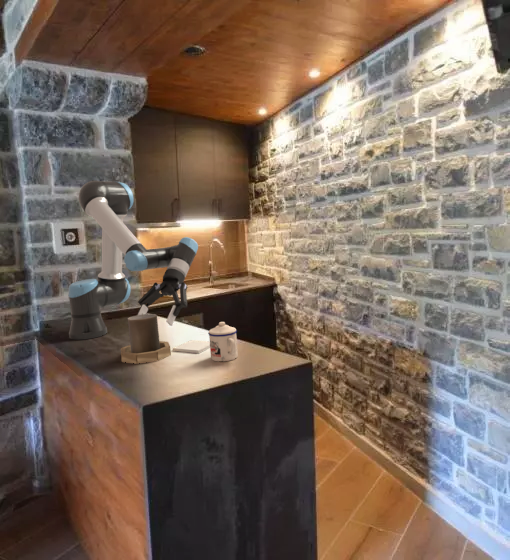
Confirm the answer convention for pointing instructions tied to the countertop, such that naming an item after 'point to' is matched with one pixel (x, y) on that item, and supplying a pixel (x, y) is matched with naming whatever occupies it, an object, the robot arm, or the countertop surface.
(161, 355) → the holder ring
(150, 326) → the pillar candle
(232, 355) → the teacup with lid
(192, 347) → the coaster
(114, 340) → the countertop surface
